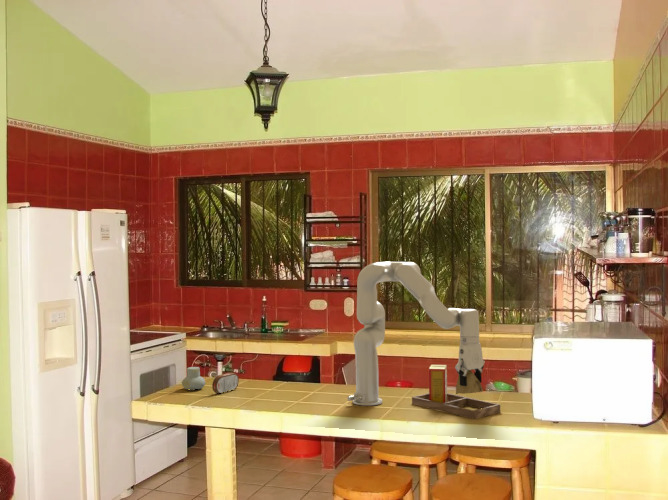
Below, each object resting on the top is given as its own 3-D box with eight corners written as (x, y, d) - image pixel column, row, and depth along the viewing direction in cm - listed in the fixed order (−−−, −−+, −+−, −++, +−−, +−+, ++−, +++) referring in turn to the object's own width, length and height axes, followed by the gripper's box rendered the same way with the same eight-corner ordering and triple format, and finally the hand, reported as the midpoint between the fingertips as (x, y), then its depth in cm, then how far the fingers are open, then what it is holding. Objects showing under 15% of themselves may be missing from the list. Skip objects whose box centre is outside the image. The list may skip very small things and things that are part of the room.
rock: (486, 384, 281) (462, 379, 285) (485, 370, 276) (460, 365, 280) (479, 404, 274) (454, 399, 278) (478, 390, 268) (452, 385, 273)
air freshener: (179, 388, 328) (179, 367, 327) (195, 386, 333) (194, 365, 333) (192, 392, 320) (191, 370, 319) (207, 389, 325) (207, 368, 325)
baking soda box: (445, 407, 285) (444, 368, 285) (429, 406, 287) (428, 367, 286) (447, 401, 294) (446, 364, 294) (431, 401, 296) (431, 363, 296)
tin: (235, 388, 326) (234, 370, 326) (240, 389, 324) (239, 371, 324) (211, 394, 314) (211, 376, 314) (216, 395, 312) (216, 377, 312)
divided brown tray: (474, 419, 266) (474, 411, 266) (412, 404, 291) (411, 396, 291) (500, 412, 276) (500, 404, 276) (438, 397, 301) (437, 391, 301)
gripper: (462, 343, 268) (463, 388, 269) (491, 338, 279) (492, 382, 280) (447, 341, 274) (448, 386, 275) (476, 337, 285) (477, 379, 286)
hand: (470, 383), depth 277 cm, fingers closed on rock, 8 cm apart
